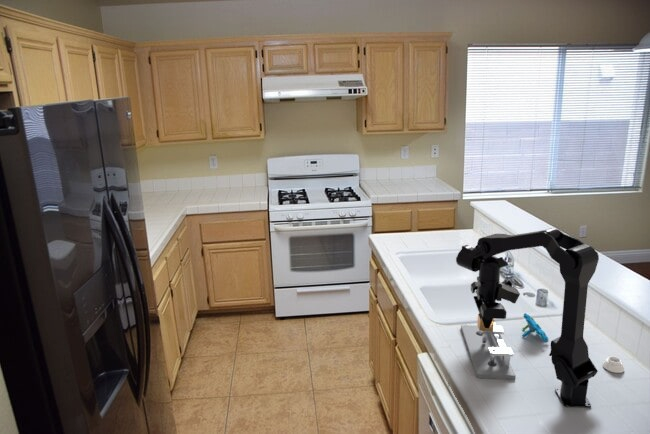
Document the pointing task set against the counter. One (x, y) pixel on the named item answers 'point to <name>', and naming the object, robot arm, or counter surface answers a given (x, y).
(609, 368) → the white jar
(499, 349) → the divider frame
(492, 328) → the sliding leg
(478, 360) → the bolt plate
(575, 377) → the robot arm
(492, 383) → the counter surface
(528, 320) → the gear
